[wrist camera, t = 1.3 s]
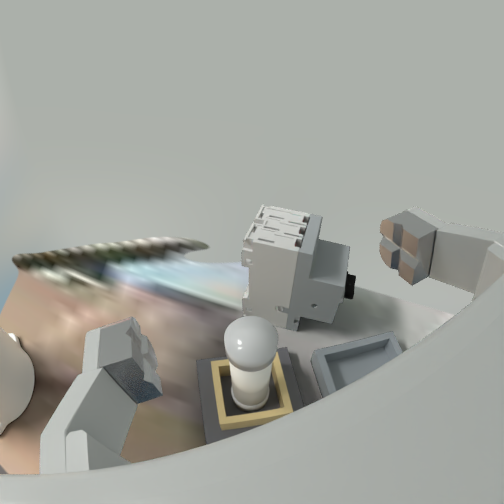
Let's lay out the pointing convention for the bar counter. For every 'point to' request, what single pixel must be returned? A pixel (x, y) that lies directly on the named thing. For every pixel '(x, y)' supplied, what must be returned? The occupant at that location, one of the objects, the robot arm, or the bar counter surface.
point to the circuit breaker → (293, 269)
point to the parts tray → (352, 361)
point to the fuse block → (224, 410)
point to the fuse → (250, 360)
